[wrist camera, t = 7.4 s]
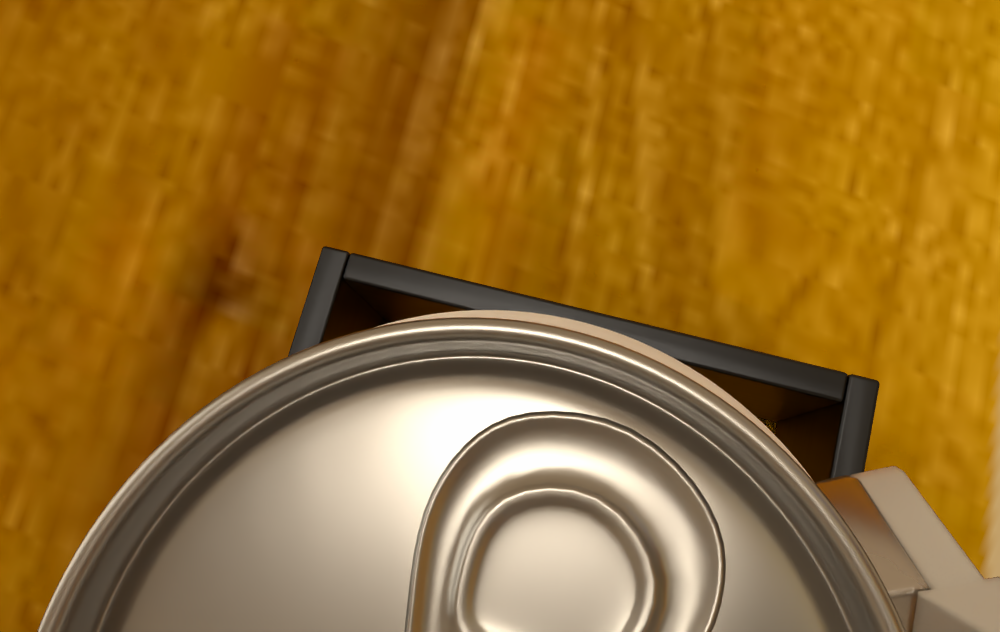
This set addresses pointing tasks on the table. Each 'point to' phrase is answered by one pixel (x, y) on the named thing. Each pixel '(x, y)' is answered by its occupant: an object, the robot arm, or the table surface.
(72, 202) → the table surface
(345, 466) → the can
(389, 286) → the bottomless square frame
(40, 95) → the table surface
